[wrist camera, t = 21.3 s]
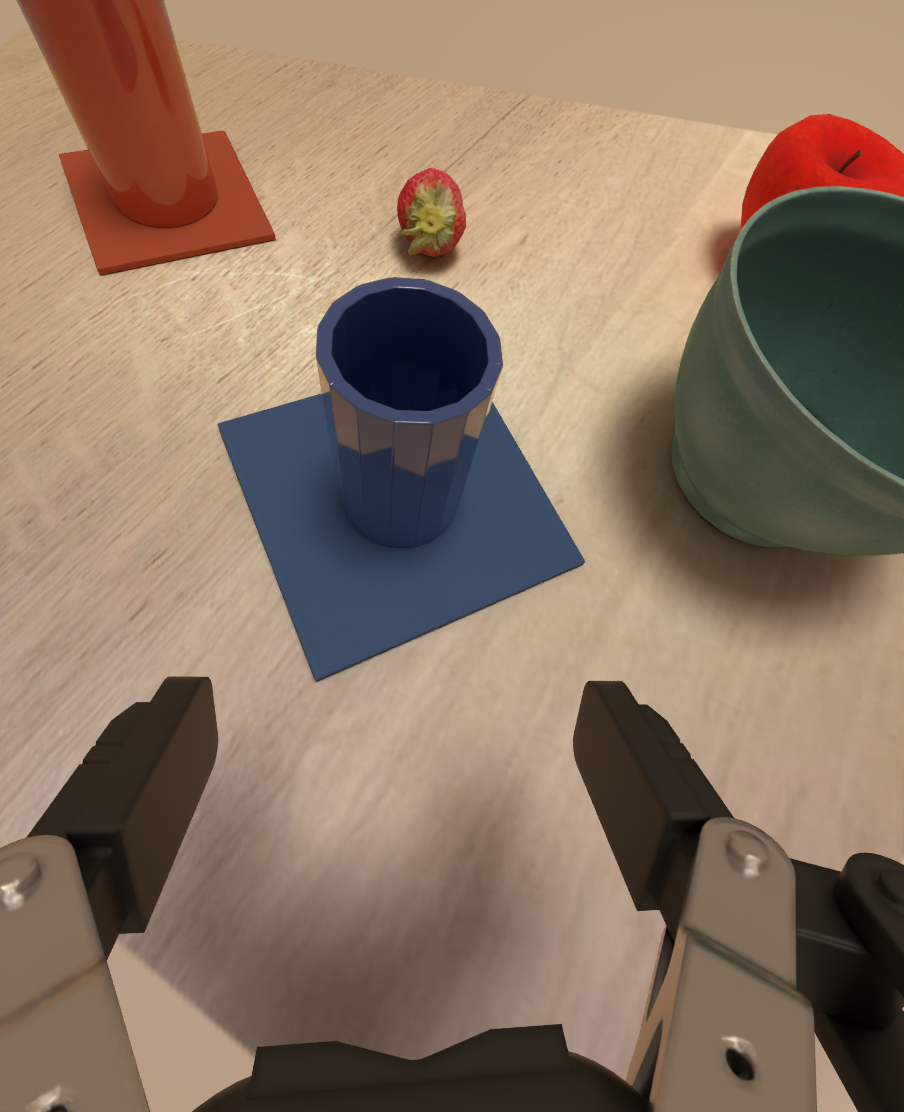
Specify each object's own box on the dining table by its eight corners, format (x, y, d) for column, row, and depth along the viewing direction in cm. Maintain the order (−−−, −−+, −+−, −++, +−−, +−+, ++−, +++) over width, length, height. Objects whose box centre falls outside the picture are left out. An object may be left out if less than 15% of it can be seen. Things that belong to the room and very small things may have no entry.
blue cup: (367, 566, 24) (358, 447, 15) (321, 463, 26) (289, 300, 17) (480, 523, 26) (534, 391, 17) (430, 428, 28) (454, 261, 18)
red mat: (100, 275, 29) (97, 269, 29) (62, 160, 32) (58, 153, 32) (276, 239, 32) (274, 233, 31) (226, 136, 35) (224, 130, 34)
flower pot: (772, 336, 34) (934, 159, 24) (937, 549, 29) (1223, 439, 19) (562, 398, 30) (652, 216, 20) (715, 658, 25) (934, 589, 15)
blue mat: (316, 681, 23) (315, 680, 22) (219, 428, 27) (217, 423, 26) (583, 564, 26) (585, 562, 26) (462, 357, 30) (463, 352, 30)
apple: (687, 225, 37) (761, 97, 30) (791, 222, 39) (885, 99, 32) (736, 321, 34) (831, 203, 27) (847, 313, 36) (964, 200, 29)
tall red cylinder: (126, 237, 30) (12, 3, 21) (101, 169, 32) (-15, -75, 22) (231, 217, 31) (168, -9, 22) (202, 154, 33) (133, -80, 24)
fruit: (466, 218, 35) (479, 135, 30) (457, 283, 32) (470, 204, 28) (403, 206, 34) (406, 120, 30) (389, 270, 32) (391, 188, 27)
